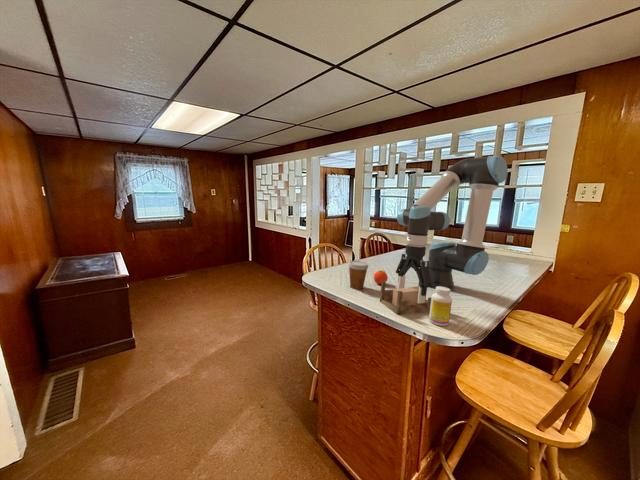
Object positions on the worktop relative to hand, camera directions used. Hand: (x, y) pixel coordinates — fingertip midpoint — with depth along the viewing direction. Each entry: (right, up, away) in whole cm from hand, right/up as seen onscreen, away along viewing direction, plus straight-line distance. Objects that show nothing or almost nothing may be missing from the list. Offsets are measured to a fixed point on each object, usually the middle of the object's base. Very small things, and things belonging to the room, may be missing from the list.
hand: (410, 296), depth 107 cm
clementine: (-6, +1, +28) cm, 28 cm away
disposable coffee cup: (-19, 0, +20) cm, 28 cm away
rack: (0, -4, +1) cm, 4 cm away
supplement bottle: (+6, -7, -13) cm, 16 cm away
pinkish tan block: (-1, -3, 0) cm, 3 cm away
